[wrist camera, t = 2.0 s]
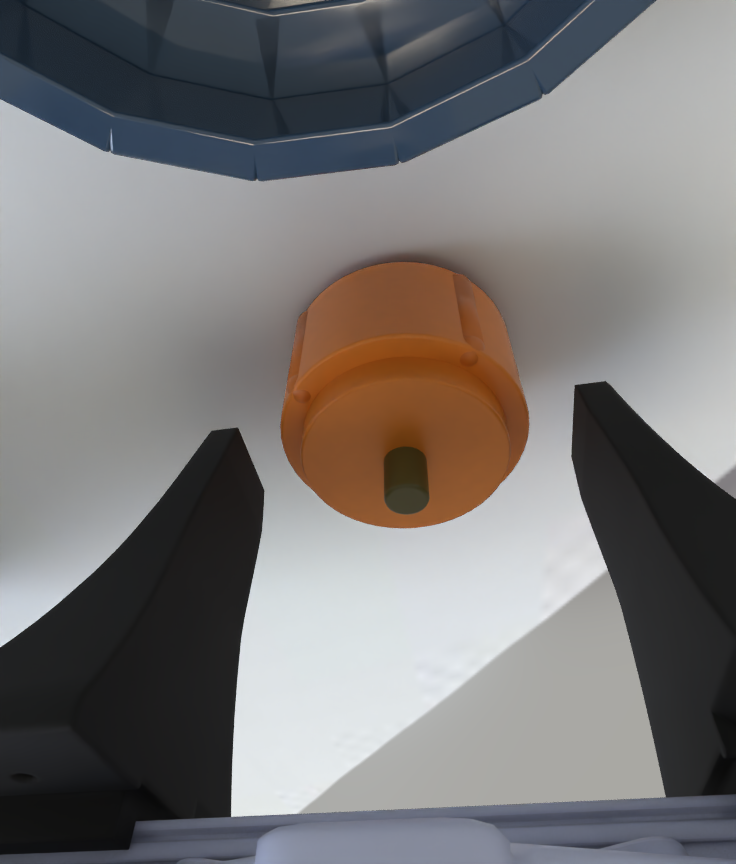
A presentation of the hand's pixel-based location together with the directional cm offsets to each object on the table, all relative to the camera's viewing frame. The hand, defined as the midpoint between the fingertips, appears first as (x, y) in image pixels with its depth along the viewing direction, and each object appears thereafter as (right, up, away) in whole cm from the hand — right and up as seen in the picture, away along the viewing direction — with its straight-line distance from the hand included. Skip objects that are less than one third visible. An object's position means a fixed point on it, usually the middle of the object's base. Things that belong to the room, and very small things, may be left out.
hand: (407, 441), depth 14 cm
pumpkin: (0, +2, +3) cm, 4 cm away
